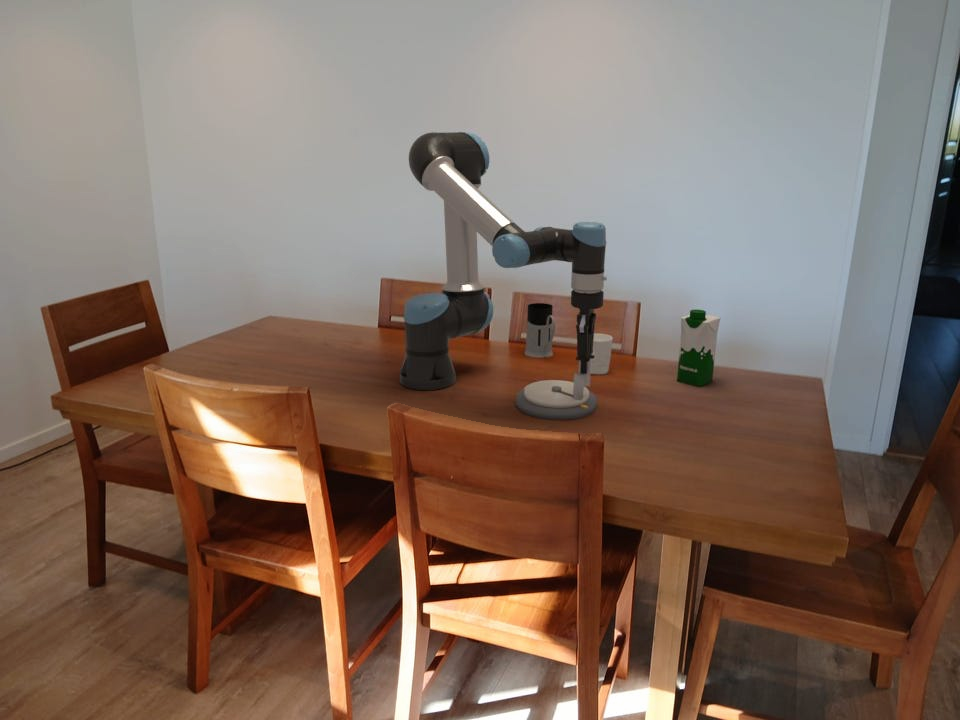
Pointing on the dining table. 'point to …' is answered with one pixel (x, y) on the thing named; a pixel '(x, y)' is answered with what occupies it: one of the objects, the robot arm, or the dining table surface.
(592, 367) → the white cup
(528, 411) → the stand base
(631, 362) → the dining table surface
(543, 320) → the glass holder
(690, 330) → the milk carton
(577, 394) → the cream crank wheel
